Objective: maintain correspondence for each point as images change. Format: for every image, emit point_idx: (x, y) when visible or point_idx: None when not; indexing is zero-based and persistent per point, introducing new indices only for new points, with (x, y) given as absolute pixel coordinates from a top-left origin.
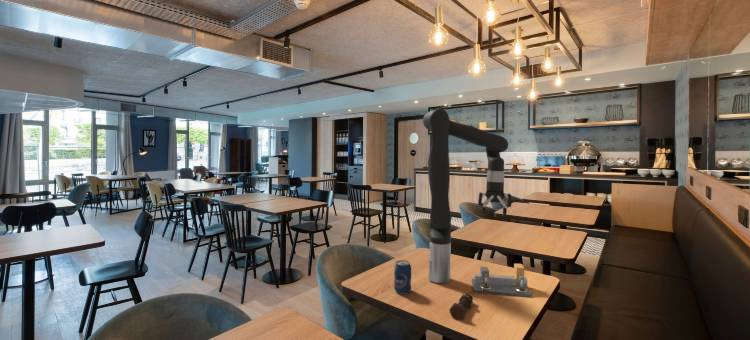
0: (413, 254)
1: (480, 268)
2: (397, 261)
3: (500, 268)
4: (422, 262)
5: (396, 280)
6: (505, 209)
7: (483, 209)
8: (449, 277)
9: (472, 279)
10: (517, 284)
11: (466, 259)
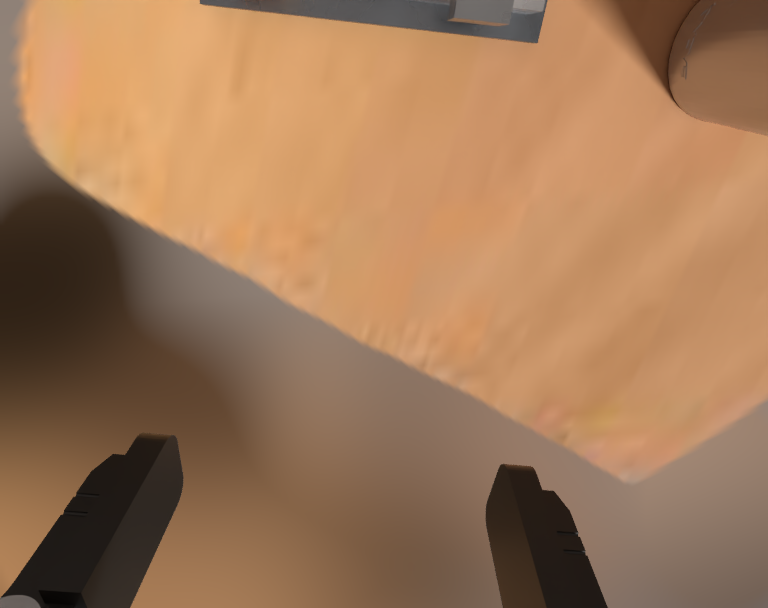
0: (712, 413)
1: (508, 12)
2: None
3: (304, 266)
4: (714, 314)
5: None
6: (54, 567)
7: (571, 578)
8: (705, 9)
9: (536, 28)
10: None
11: (457, 371)
